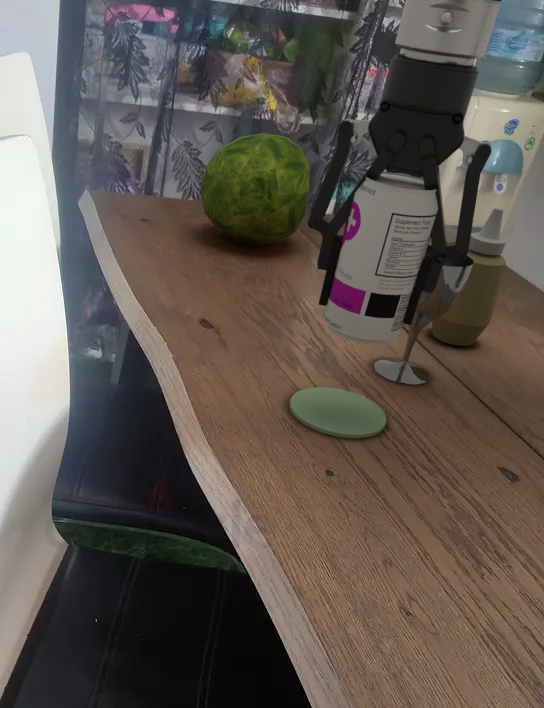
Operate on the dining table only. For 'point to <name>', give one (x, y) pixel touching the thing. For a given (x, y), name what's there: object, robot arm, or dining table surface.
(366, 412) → the coaster
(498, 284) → the squeeze bottle
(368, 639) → the dining table surface
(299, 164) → the lettuce
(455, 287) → the wine glass
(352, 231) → the supplement can
